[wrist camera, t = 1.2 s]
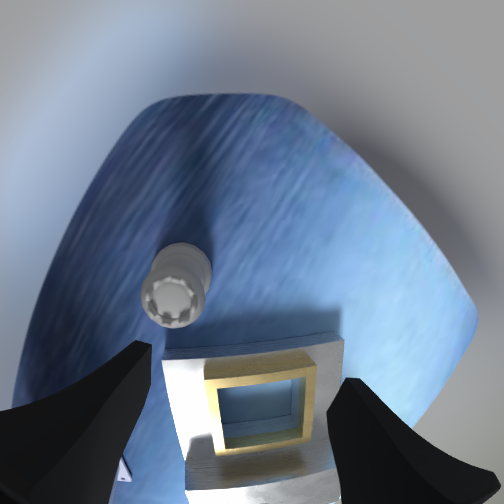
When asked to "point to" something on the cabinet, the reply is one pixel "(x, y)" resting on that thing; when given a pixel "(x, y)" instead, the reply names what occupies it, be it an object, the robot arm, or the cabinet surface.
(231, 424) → the white stepped block
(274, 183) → the cabinet surface
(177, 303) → the rook chess piece
